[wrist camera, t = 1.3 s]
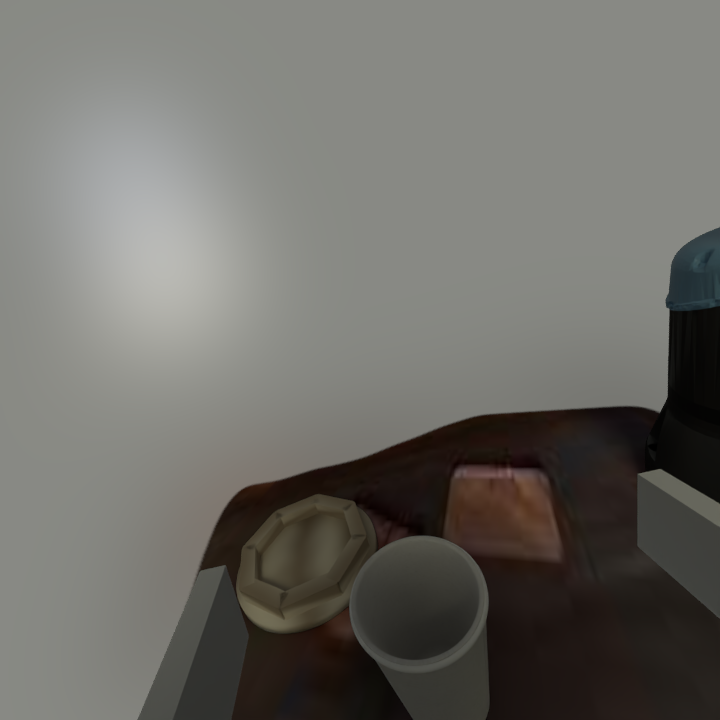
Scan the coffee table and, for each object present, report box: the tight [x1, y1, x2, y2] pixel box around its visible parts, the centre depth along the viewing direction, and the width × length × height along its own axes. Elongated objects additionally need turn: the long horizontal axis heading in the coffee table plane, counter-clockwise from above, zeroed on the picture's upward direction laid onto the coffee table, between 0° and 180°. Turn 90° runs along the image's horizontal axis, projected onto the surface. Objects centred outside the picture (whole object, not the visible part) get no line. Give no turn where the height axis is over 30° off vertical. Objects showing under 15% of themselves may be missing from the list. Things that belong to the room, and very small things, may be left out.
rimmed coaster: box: [236, 494, 378, 634], centre depth 39 cm, size 15×15×2 cm
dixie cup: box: [349, 536, 490, 720], centre depth 24 cm, size 8×8×10 cm
